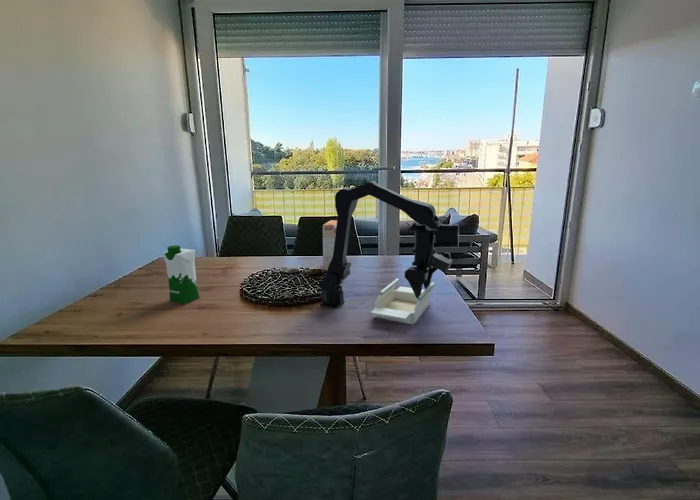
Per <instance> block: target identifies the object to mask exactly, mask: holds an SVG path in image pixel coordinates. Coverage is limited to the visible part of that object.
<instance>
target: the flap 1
mask: <svg viewBox="0 0 700 500" xmlns="http://www.w3.org/2000/svg"><path fill="white" fill-rule="evenodd" d="M399 281H400V279H399V278H398V277H397V278H395V279H394V280H392V282H390V283H388V285H386V286H385V287H384V288H383V289H381V290H380V291H379V293H378V296H377V297H376V300H375V301H374V306H375V305H377V304H378V303H380V302H381V301H382V300H383V299H384V298H385V297H387V296H388V295H389V294H390V293H391V292H393V290H395V288H396V287H397V284H398V282H399Z"/></svg>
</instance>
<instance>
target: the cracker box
mask: <svg viewBox="0 0 700 500" xmlns="http://www.w3.org/2000/svg"><path fill="white" fill-rule="evenodd" d="M336 226H337V219H335V220H334V219H331V220H329V221H327V222H325V223H324V224H323V225H322V263H323V264H322V266H323V268H322V269H323V270H325V272H327V270H328V266H329V264H330V262H331V260H332V258H333V251H334V242H335V234H336Z"/></svg>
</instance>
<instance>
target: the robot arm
mask: <svg viewBox="0 0 700 500" xmlns="http://www.w3.org/2000/svg"><path fill="white" fill-rule="evenodd" d="M367 196H370V197H371V196H372V197H373V198H375V199H377V200H379V201H381V202H384V203H385V204H388V205H390V206H392V207H394V208H396V209H398V210H399V211H402V212H403V213H404V214H405V215H406V216H408V217H409V218H410V219H412V220H413V221H414V222H413V223H412V225H411V226H409V227H408V229H407V230H408V231H409V232H414V247H413V248H412V252H411V253H414V254H413V255H414V257H413V258H414V259H413V261H412V262H411V265H412V266H410V267H408V268H407V269H406V270H405V271H404V279H406V281H408V284H409V286H410V288H412V290H413V292H414V294H415V296H416V298H418V297H419V296H420V295H421V291H422V290H423V287H424V290H425V289H426V288H427V287H428V286H429V285H430V284H431V283H432V279H433V275H434V274H435V272H436V271H438V270H439V271H441V272H442V273H448V271H449V270H450V268H451V265H452V264H453V259H452V256H451V255H452V254H451V253H449V252H444V253H443V254H442V253H440V254H439V253H437V249H436V247H434V245H435V244H434V243H436V244H437V245H438V247H445V248H446V247H447V248H459V245H460V236H461V235H460V224H457V223H454V224H444V223H442V221H441V220H440V219H439V217H438V216H437V211H436V208H435V206H433V204H432V203H431V204H430V203H428V202H424V201H421V200H415V199H412V198H408V197H406V196H405V195H403V194H399V193H398V192H396V191H393V190H391V189H390V188H387V187H385V186H384V185H381V184H380V183H377V181H374V180H369V181H366V182H365V183H363V184H360V185H357V186H355V187H345V188H342V189H339V190H338V191H337V192H336V193H335V195H334V202H335V203H334V204H335V211H336V215H337V219H336V220H337V226H336V234H335V242H334V251H333V258H332V260H331V262H330V264H329V266H328V270H327V271H326V273H325V278H323V280H322V281H321V282H320V283H319V287H320V290H321V297H322V301H321V302H320V303H319V305H320V306H324V307H330V308H338V307H339V306H341V305H342V304H344V303H345V302H346V301H345V300H344V290H343V286H342V284H343V283H344V281H345V280H346V279H347V278H348V276H349V275H351V270H350V269H351V266H352V263H351V262H348V259H347V252H348V244H349V239H350V238H349V237H350V232H351V231H350V230H351V222H352V217H353V215H354V212H355V210H356V208H357V204H358V201H359V199H363V198H365V197H367ZM434 238H435V240H434Z"/></svg>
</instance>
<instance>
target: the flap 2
mask: <svg viewBox="0 0 700 500" xmlns="http://www.w3.org/2000/svg"><path fill="white" fill-rule="evenodd" d="M435 284H436V283H435V281H434V282H433V281H431V282H430V285H429V286H428V287H427V288H426V289H425V288H424V289H423V290H424V291H423V292H422V294H421V295H420V296H419V297H418V300H417V303H416V306H415V309H414V311H416V312H417V311H418V309H419V308H420V307H421V306H422V305H423V304H424V302H425V301H426V300H427V299H428V298H429V297H430V296H431V294H432V292H433V288H434V287H435ZM430 298H431V297H430Z"/></svg>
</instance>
